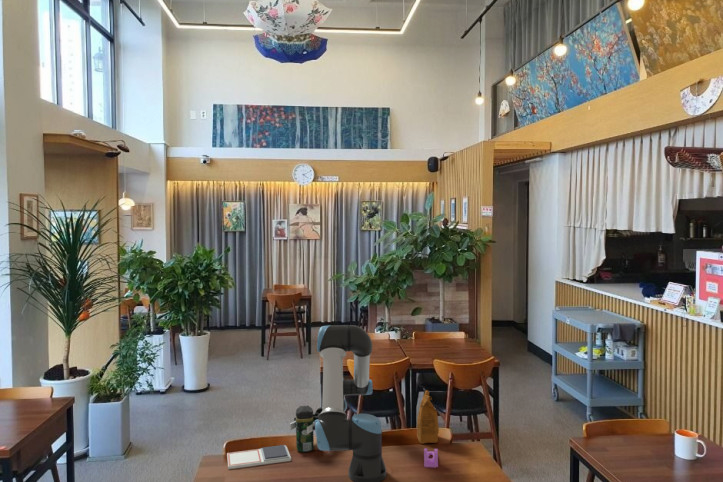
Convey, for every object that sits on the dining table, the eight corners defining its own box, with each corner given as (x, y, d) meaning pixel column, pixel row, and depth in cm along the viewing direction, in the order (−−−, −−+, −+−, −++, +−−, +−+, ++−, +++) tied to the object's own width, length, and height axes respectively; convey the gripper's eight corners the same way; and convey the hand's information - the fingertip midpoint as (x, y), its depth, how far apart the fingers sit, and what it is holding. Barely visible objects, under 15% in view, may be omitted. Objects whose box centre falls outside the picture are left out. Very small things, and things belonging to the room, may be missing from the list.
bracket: (437, 467, 208) (437, 451, 208) (424, 467, 208) (424, 450, 208) (436, 454, 220) (436, 438, 221) (424, 454, 221) (423, 438, 221)
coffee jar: (295, 445, 232) (295, 404, 233) (312, 443, 234) (312, 403, 234) (296, 453, 223) (296, 411, 223) (314, 452, 224) (313, 410, 224)
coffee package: (437, 434, 243) (436, 389, 243) (439, 445, 231) (438, 397, 231) (416, 434, 244) (416, 389, 244) (417, 444, 231) (417, 396, 231)
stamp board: (291, 460, 215) (291, 457, 215) (228, 469, 208) (228, 466, 208) (286, 448, 229) (286, 445, 229) (227, 455, 221) (227, 452, 221)
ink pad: (289, 457, 216) (289, 455, 216) (263, 461, 212) (263, 458, 212) (285, 446, 228) (285, 444, 228) (260, 449, 225) (260, 447, 225)
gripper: (345, 424, 239) (319, 441, 219) (307, 417, 249) (279, 433, 229) (344, 408, 239) (319, 424, 219) (307, 402, 249) (279, 416, 229)
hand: (298, 428), depth 224 cm, fingers closed on coffee jar, 9 cm apart
